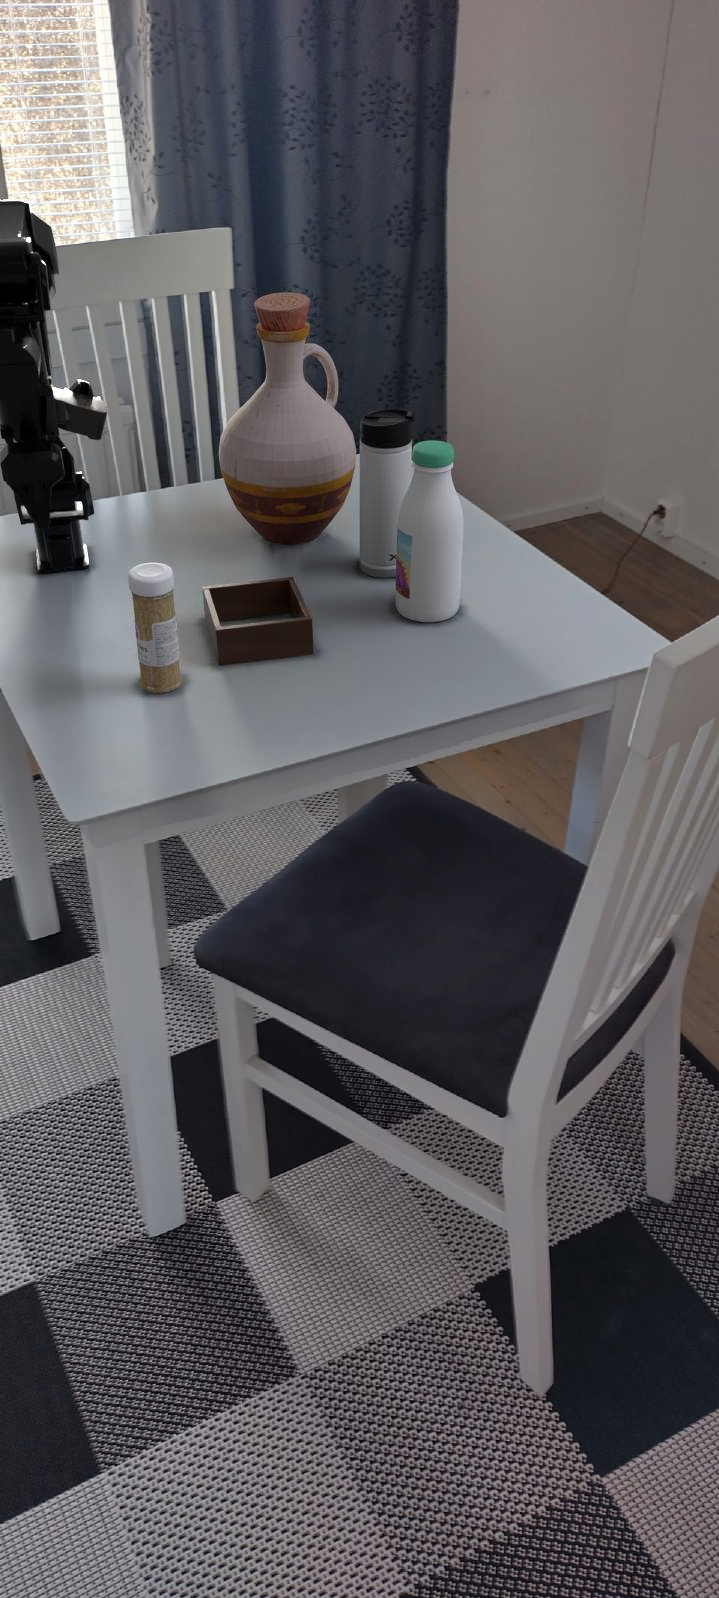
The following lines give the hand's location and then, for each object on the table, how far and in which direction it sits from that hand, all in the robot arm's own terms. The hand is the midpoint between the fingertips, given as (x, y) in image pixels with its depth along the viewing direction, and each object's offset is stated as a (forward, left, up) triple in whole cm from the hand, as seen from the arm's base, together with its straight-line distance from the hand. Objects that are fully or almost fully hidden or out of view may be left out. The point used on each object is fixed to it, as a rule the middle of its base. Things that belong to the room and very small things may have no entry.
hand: (42, 512), depth 133 cm
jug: (-17, +32, -13) cm, 39 cm away
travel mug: (-3, +41, -13) cm, 43 cm away
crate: (+11, +22, -13) cm, 28 cm away
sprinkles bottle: (+19, +10, -13) cm, 25 cm away
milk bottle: (+9, +43, -13) cm, 46 cm away
